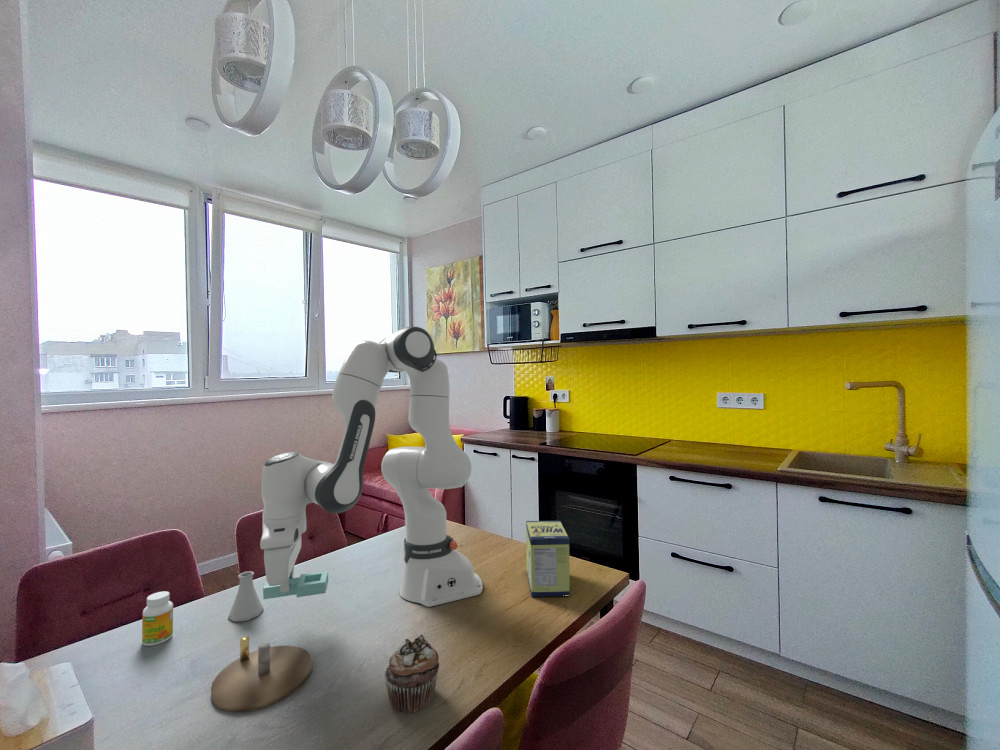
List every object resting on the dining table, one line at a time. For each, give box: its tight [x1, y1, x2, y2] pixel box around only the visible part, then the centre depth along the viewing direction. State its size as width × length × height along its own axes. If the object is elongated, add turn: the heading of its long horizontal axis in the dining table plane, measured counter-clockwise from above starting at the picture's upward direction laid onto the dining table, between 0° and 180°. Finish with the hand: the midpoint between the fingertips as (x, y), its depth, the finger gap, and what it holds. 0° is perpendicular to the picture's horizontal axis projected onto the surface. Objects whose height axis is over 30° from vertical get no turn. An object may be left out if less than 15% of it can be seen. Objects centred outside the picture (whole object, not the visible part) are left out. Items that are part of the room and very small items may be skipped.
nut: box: [262, 570, 329, 600], centre depth 100 cm, size 13×6×2 cm, turn 106°
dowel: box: [239, 635, 250, 661], centre depth 88 cm, size 2×2×4 cm
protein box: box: [525, 520, 571, 598], centre depth 122 cm, size 10×16×16 cm
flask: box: [227, 571, 264, 623], centre depth 107 cm, size 7×7×10 cm
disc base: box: [210, 642, 313, 713], centre depth 84 cm, size 17×17×6 cm
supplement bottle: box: [141, 590, 174, 647], centre depth 97 cm, size 5×5×10 cm
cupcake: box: [384, 633, 440, 714], centre depth 79 cm, size 10×10×10 cm
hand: (287, 585), depth 99 cm, fingers closed on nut, 3 cm apart
